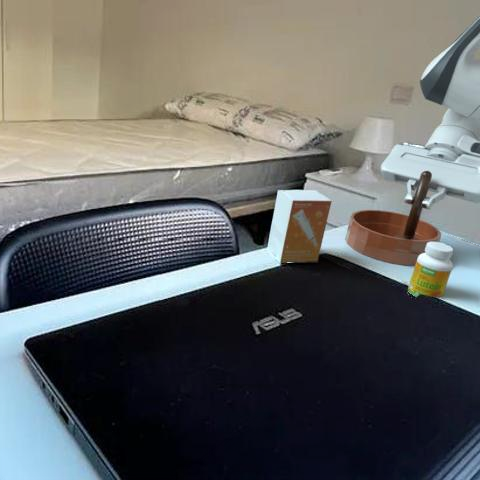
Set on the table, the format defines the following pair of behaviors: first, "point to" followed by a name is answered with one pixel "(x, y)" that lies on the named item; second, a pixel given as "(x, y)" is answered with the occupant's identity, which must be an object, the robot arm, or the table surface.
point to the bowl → (388, 236)
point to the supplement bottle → (431, 270)
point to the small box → (298, 225)
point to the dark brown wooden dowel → (416, 206)
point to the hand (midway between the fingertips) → (416, 204)
